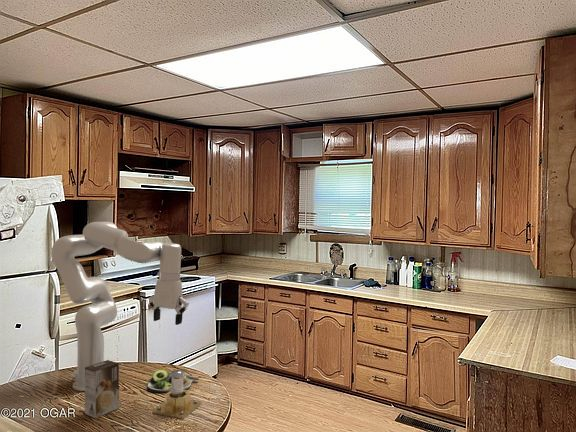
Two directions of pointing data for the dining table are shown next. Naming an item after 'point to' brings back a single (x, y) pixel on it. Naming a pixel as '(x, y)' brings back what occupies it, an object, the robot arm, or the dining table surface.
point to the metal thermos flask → (177, 383)
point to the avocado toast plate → (166, 381)
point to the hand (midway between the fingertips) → (167, 322)
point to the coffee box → (101, 388)
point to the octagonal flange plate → (177, 406)
